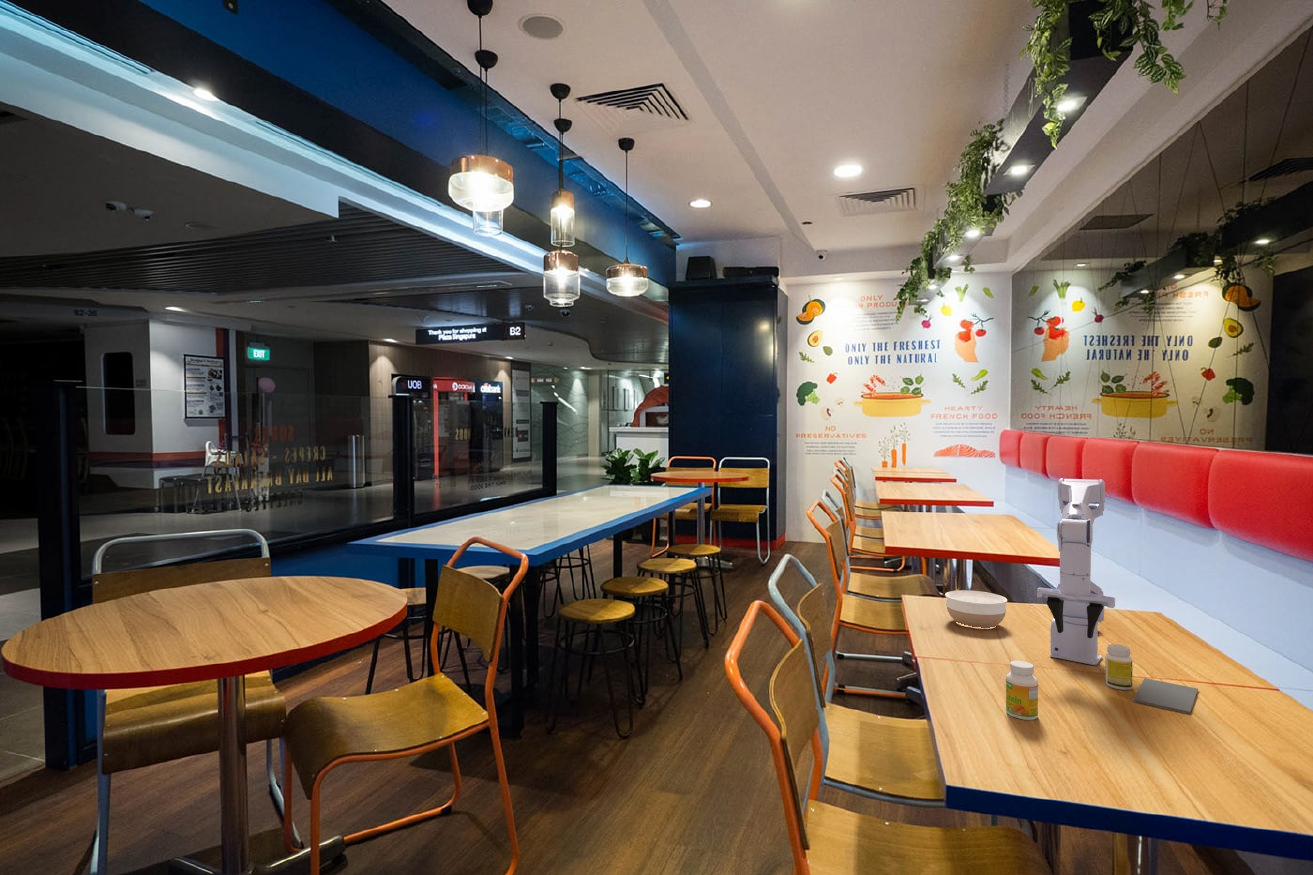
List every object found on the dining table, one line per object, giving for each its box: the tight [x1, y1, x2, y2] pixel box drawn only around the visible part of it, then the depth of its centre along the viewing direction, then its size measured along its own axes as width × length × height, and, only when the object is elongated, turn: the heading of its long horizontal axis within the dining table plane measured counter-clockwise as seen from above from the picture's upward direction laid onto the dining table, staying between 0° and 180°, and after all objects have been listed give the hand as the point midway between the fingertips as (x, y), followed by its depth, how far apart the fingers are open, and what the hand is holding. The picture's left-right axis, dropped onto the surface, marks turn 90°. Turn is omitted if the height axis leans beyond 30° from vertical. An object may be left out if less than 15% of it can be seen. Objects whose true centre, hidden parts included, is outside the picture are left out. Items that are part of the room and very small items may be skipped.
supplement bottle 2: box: [1104, 643, 1134, 691], centre depth 141 cm, size 5×5×8 cm
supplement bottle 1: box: [1005, 660, 1039, 721], centre depth 126 cm, size 5×5×10 cm
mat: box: [1132, 677, 1199, 715], centre depth 135 cm, size 9×16×1 cm, turn 137°
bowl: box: [944, 589, 1008, 628], centre depth 188 cm, size 16×16×8 cm
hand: (1075, 634), depth 146 cm, fingers open, 5 cm apart
